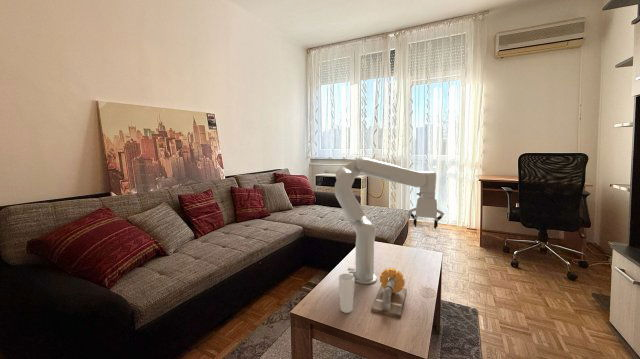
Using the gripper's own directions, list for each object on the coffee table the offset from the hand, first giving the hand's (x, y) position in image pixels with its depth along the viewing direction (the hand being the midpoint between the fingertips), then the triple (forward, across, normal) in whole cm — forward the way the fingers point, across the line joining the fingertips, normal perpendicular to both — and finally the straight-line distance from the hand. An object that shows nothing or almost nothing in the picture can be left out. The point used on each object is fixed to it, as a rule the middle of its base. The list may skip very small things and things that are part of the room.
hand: (425, 227), depth 146 cm
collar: (+25, -15, -24) cm, 38 cm away
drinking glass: (+28, -34, -41) cm, 60 cm away
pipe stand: (+27, -16, -29) cm, 43 cm away
